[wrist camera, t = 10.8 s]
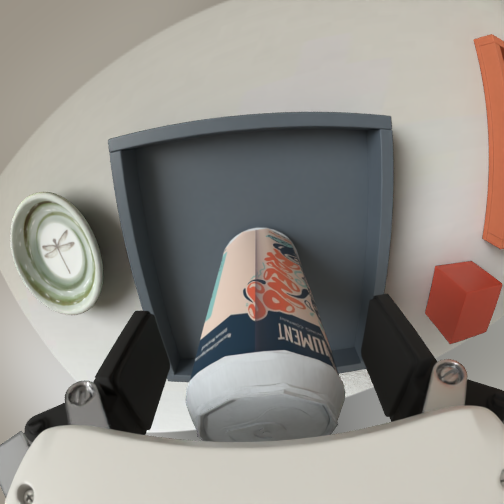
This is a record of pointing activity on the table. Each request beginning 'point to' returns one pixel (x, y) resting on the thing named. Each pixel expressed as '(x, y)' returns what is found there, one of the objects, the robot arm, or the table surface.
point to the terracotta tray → (494, 133)
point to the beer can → (263, 350)
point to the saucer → (56, 253)
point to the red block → (462, 300)
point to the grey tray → (257, 215)
